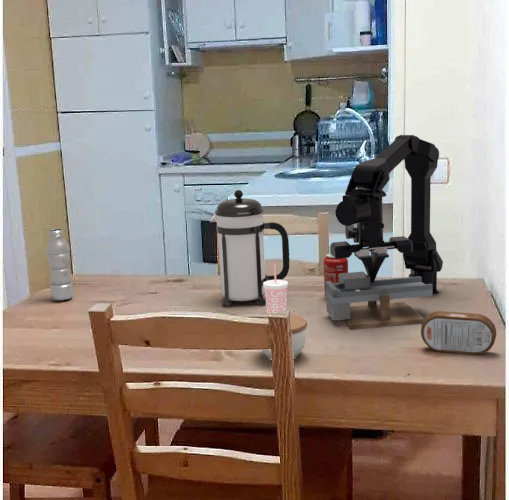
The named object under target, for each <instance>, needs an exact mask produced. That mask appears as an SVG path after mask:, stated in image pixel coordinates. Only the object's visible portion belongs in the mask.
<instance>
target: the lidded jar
mask: <svg viewBox="0 0 509 500" xmlns="http://www.w3.org/2000/svg"><path fill="white" fill-rule="evenodd" d="M307 322H308V321H307V319H306V318H305V317H303V316H300V315H296V314H291V332H292V343H293V353H294V360H295V359H296V358H298V357H297V356H299V354H300V353H301V352H302V351H303V349H304V348H305V345H306V340H307V327H308V326H307V325H308V324H307ZM261 352H262V354H264V355H265V356H266V357H267V359H268V360H270V361H271V353H270V350H263V351H261Z"/></svg>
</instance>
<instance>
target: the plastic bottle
mask: <svg viewBox="0 0 509 500" xmlns="http://www.w3.org/2000/svg"><path fill="white" fill-rule="evenodd" d="M63 237H64V234H63V229H62V228H54V229H53V228H52V229H49V230H48V238H49V239H50V240H49V241H48V242H47V245H46V246H45V252H46V253H45V254H46V257H47V261H48V266H49V271H50V286H49V294H50V297H51V299H52V300H53V301H66V300H71V298H73V297H74V294H75V288H74V285H73V282H72V277H71V269H70V245H69V243H68V242H67V241H66V240H65V239H64V238H63Z"/></svg>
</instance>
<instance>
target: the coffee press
mask: <svg viewBox="0 0 509 500" xmlns="http://www.w3.org/2000/svg"><path fill="white" fill-rule="evenodd" d="M233 195H234V197H235V198H232V199H231V198H230V199H226V200H223V201H222V202H220V203H218V204H217V206H216V210H214V214H213V216H212V217H211V219H210V220H209V223H216V233H217V243H218V244H217V245H218V260H219V263H218V264H219V275H220V276H219V277H220V291H221V295H222V296H223V300H222V304H221V305H222V307H224V308H229V307H230V306H231V304H232V303H233V302H248V301H256V303H257V305H259V306H260V307H261V306H264V305H266V298H265V297H264V296H265V289H264V287H263V286H264V285H263V283H264V282H265V281H268V280H274V275H266V266H265V265H266V264H265V263H266V261H265V242H264V241H265V240H264V239H265V238H264V230H275V231H277V232H278V233H279V234H280V237H281V247H282V248H281V249H282V250H281V251H282V269H281V271H280V272H279V273H278V274H276V280H285V278H286V277H287V276H288V273H289V271H290V243H289V236H288V232H287V229H285V227H284V226H283V225H282V224H280V223H277V222H274V221H273V222H272V221H271V222H264V218H263V217H264V215H263V214H264V212H265V208H264V207H263V206H262V204H261V203H260V202H259V200H256V199H253V198H245V197H244V198H242V197H243V196H244V193H243V191H242V190H241V189H237V190H235V191H234V194H233Z"/></svg>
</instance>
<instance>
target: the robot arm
mask: <svg viewBox="0 0 509 500" xmlns="http://www.w3.org/2000/svg"><path fill="white" fill-rule="evenodd" d="M394 138H395V139H394V140H393V141H392V142H391V143H390V144H389V145H388V146H387V147H386V148H384V150H382V151H381V152H380V153H379V154H378V155H377V156H376V157H374V158H372V159H369V160H365V161H362V162H361V163H359V164H356V166H355V167H354V169H353V171H352V172H351V175H350V179H349V181H348V183H347V184H348V185H347V187H346V190H345V192H344V194H345V195H342V201H340V202H339V203H338V204H337V206H336V209H335V210H334V211H335V218H336V220H337V221H338V222H339V224H341V225H342V226H345V233H344V234H345V239H346V240H353V243H355V244H350V243H349V242H348V241H346V240H345V241H335V242H331V244H330V246H329V253H330V254H331V255H332V256H333V257H335V258H338V259H339V258H347V259H348V258H350V257H351V256H352V255H354V257H356V258H357V259H358V260H360V261H361V262H362V264H363V267H364V268H365V273H366V274H367V275H368V276H369V277H370V282H371V283H373V282H374V281H375V280H376V278H377V276H378V274H379V270H380V269H381V267H382V264H384V262H385V260H386V259H388V258H389V257H390V255H389V254H388V250H397V251H398V252H399V253H400V254H402V257H403V261H404V268H405V269H407V270H410V273H409V274H408V277H419V276H421V277H422V282H423V283H424V284H432V285H433V292H432V295H433V294H439V293H440V290H438V289H437V288H438V287H437V286H438V284H437V283H438V276H437V275H438V272H439V273H440V272H441V271H442V270H443V264H444V260H443V259H442V257H441V255H440V254H439V252H438V251H437V249H438V248H437V242H436V240H435V239H434V236H433V234H432V233H431V184H432V182H431V179H432V176H433V174H434V173H435V171H436V170H437V168H438V162H439V158H440V151H439V150H440V149H438V147H436V145H435V144H434V143H432V142H429V141H427V140H423V139H421V138H420V137H418V136H416V135H414V134H400V135H397V136H396V137H394ZM403 161H404V169H405V171H406V172H407V174H408V176H409V177H410V179H411V181H410V182H411V183H410V188H411V189H410V233H409V236H408V237H406V236H404V235H403V236H402V235H401V236H391V237H390V238H389V241H385V240H384V229H385V223H384V219H383V218H384V217H383V215H384V214H383V213H384V212H383V210H384V209H383V198H385V197H387V193H386V192H385V191H384V190H383V189H384V188H385V187H386V185H387V184H388V182H389V181H390V180H391V179H390V174H391V172H392V171H393V170H394V169H395V168H396V167H398V165H400V163H401V162H403ZM355 225H356V227H355Z"/></svg>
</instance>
